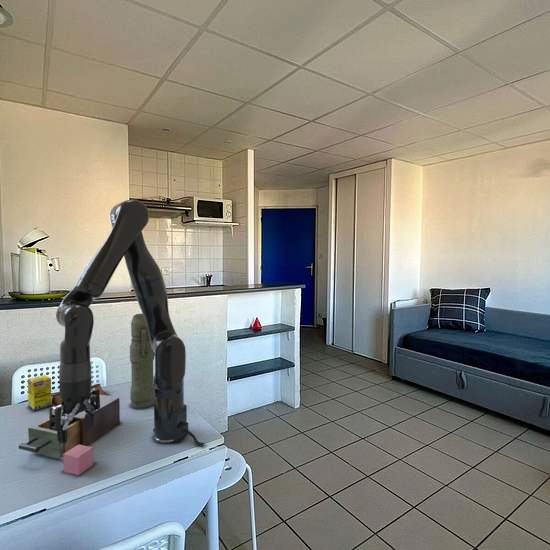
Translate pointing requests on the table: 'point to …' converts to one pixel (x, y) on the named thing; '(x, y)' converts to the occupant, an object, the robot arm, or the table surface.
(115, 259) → the robot arm
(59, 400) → the sunglasses case
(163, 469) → the table surface
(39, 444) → the drawer
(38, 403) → the supplement box
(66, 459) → the block
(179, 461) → the table surface
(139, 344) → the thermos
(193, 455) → the table surface
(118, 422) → the cabinet
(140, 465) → the table surface
